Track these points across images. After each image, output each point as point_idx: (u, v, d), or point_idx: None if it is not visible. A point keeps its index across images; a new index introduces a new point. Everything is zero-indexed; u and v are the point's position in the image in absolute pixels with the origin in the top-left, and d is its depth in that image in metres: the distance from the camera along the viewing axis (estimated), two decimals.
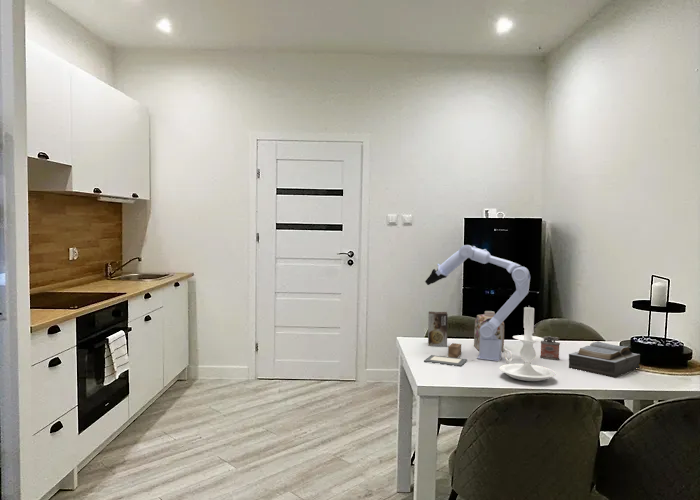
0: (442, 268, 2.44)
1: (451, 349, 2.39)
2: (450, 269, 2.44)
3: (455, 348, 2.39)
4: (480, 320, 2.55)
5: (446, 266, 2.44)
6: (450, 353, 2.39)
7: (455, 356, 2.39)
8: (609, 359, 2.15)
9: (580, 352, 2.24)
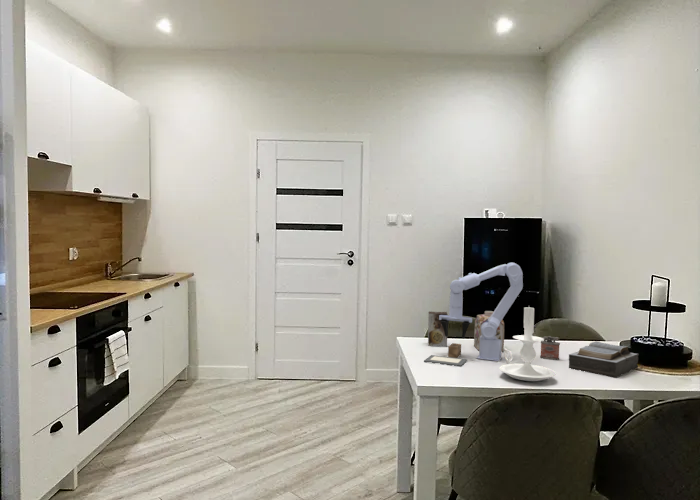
0: (461, 315, 2.40)
1: (451, 349, 2.39)
2: None
3: (455, 348, 2.39)
4: (480, 320, 2.55)
5: (461, 311, 2.41)
6: (450, 353, 2.39)
7: (455, 356, 2.39)
8: (610, 359, 2.15)
9: (580, 352, 2.24)
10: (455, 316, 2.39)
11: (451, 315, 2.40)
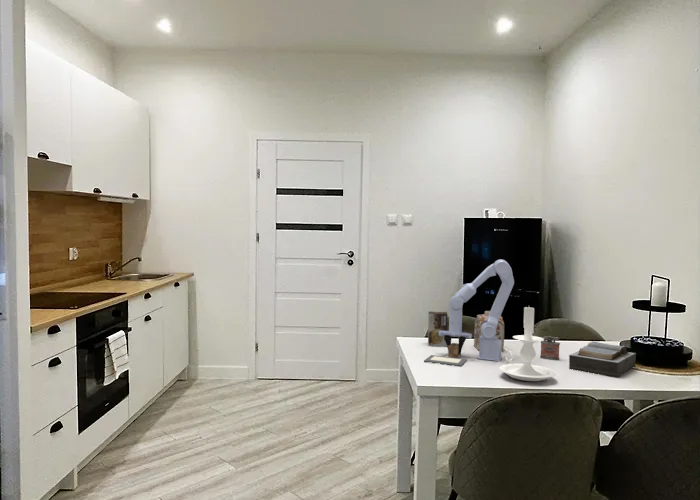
0: (461, 331, 2.41)
1: (451, 349, 2.39)
2: None
3: (455, 348, 2.39)
4: (480, 320, 2.55)
5: (461, 327, 2.41)
6: (450, 353, 2.39)
7: (455, 356, 2.39)
8: (611, 359, 2.15)
9: (580, 353, 2.23)
10: (455, 332, 2.40)
11: (451, 331, 2.41)
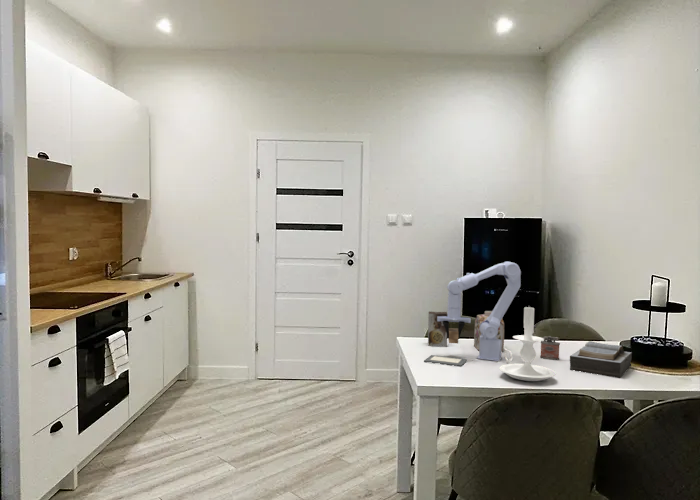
0: (460, 316, 2.39)
1: (452, 334, 2.36)
2: None
3: (456, 333, 2.36)
4: (480, 320, 2.55)
5: (460, 312, 2.39)
6: (451, 338, 2.37)
7: (456, 341, 2.36)
8: (613, 359, 2.14)
9: (581, 353, 2.22)
10: (455, 317, 2.37)
11: (451, 316, 2.38)
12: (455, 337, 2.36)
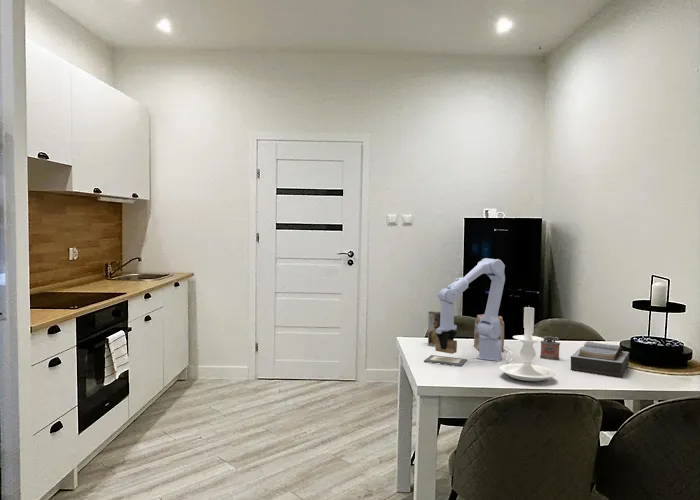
0: None
1: (453, 344, 2.29)
2: None
3: (456, 342, 2.30)
4: None
5: None
6: (453, 348, 2.29)
7: (455, 350, 2.31)
8: (614, 360, 2.14)
9: (581, 354, 2.21)
10: (453, 326, 2.30)
11: (450, 326, 2.29)
12: (455, 346, 2.30)
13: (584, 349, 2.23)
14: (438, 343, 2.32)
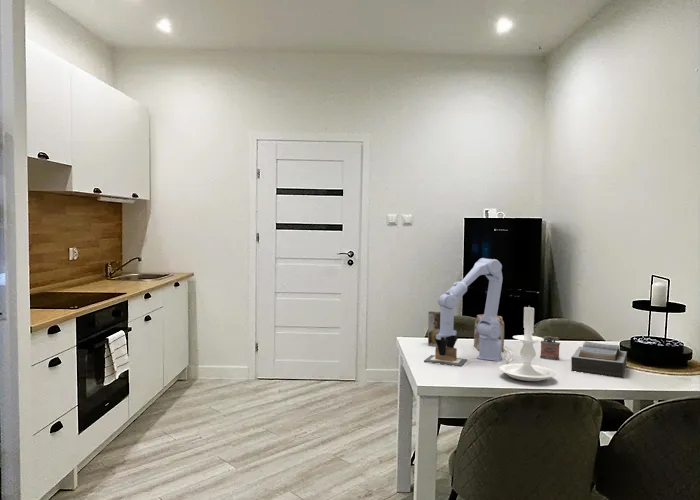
0: None
1: (453, 352, 2.29)
2: None
3: (455, 350, 2.31)
4: None
5: None
6: (453, 356, 2.29)
7: (455, 358, 2.31)
8: (615, 360, 2.14)
9: (582, 354, 2.21)
10: (453, 332, 2.31)
11: (450, 332, 2.29)
12: (455, 354, 2.30)
13: (584, 349, 2.23)
14: (438, 351, 2.32)
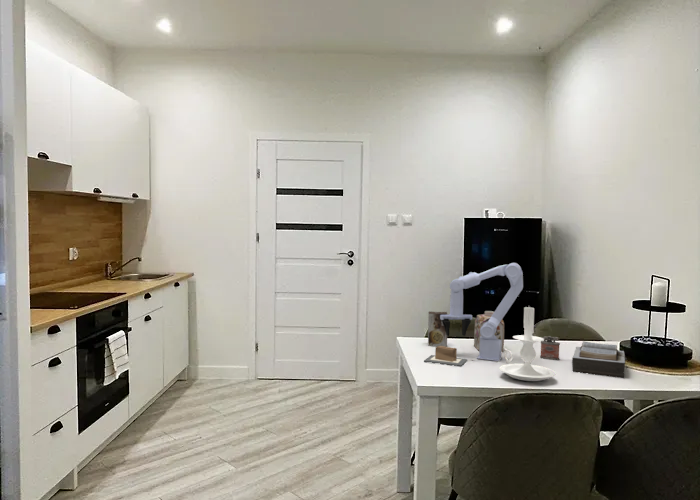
0: None
1: (453, 352, 2.29)
2: None
3: (455, 350, 2.31)
4: (480, 320, 2.55)
5: None
6: (453, 356, 2.29)
7: (455, 358, 2.31)
8: (616, 360, 2.14)
9: (583, 355, 2.20)
10: (459, 314, 2.42)
11: (455, 314, 2.41)
12: (455, 354, 2.30)
13: (584, 350, 2.22)
14: (438, 351, 2.32)
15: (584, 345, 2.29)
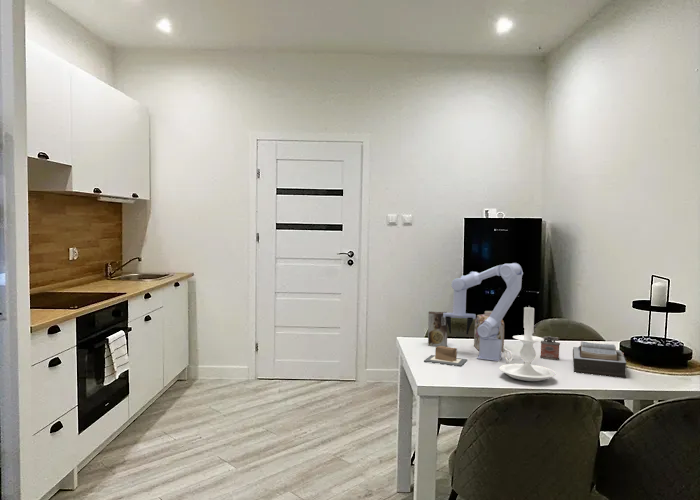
0: (465, 312, 2.47)
1: (453, 352, 2.29)
2: None
3: (455, 350, 2.31)
4: (480, 320, 2.55)
5: (465, 308, 2.48)
6: (453, 356, 2.29)
7: (455, 358, 2.31)
8: (617, 360, 2.14)
9: (584, 355, 2.19)
10: (460, 313, 2.46)
11: (456, 312, 2.46)
12: (455, 354, 2.30)
13: (585, 350, 2.22)
14: (438, 351, 2.32)
15: (583, 345, 2.29)
